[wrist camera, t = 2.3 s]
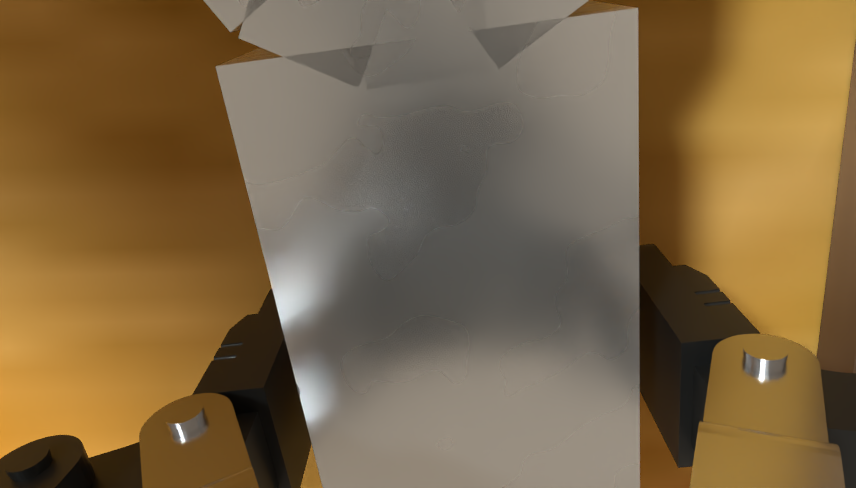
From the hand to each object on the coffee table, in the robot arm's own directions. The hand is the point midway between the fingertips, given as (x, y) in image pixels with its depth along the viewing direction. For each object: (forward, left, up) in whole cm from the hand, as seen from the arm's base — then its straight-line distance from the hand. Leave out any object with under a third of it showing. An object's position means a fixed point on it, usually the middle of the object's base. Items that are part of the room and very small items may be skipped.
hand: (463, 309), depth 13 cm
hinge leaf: (-3, 0, -1) cm, 3 cm away
